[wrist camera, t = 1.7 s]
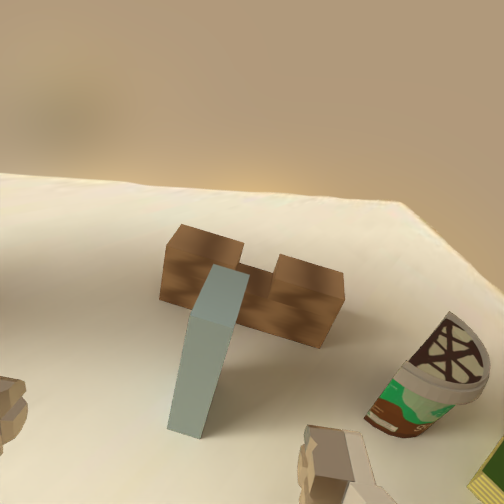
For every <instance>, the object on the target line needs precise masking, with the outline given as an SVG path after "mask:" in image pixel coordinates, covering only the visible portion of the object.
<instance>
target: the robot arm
mask: <svg viewBox="0 0 504 504" xmlns="http://www.w3.org/2000/svg"><path fill="white" fill-rule="evenodd" d="M25 392H26V386H25V382H24V381H22V380H19V379H13V378H8V377H3V376H0V456H1V455H2V454H3V445H4V444H6V443H7V442H9V441H11V440H13V439H15V437H16V436H17V435H18V434H19V432H20V431H21V430H22V427H23V425H24V423H25V421H26V419H27V413H28V404H27V402H26V401H25V400H24V399H23V397H22V395H23V394H24V393H25ZM304 443H305V444H303V445H302V446H301V447H300V452H299V457H298V466H297V476H298V484H299V486H300V487H301V488H302V490H301V493H300V497H299V504H397V503H396V502H395V501H394V500H393V499H392V498H391V497H390V495H389V494H388V493H387V492H386V491H385V490H384V489H383V488H382V487H380V486H376V483H375V479H374V476H373V472H372V468H371V465H370V461H369V458H368V454H367V451H366V447H365V444H364V440H363V437H362V435H361V433H360V432H355V431H348V430H341V429H334V428H328V427H321V426H314V425H307V426H306V428H305V432H304Z"/></svg>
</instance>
